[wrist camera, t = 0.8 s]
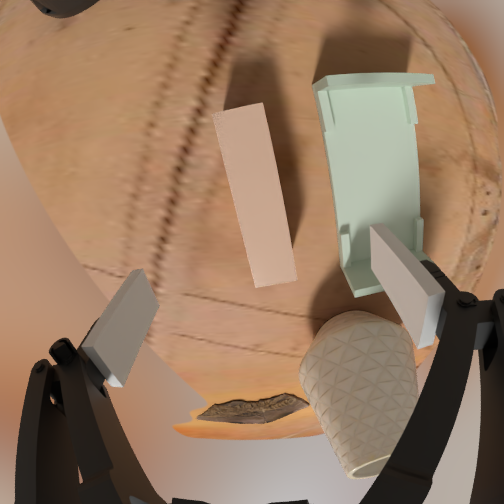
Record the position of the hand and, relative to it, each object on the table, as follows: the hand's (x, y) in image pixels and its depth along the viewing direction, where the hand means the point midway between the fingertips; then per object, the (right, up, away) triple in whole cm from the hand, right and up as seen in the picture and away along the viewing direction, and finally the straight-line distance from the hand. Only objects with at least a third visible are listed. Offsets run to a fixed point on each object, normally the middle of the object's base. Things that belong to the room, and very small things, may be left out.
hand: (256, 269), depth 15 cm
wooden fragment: (-1, -33, +38) cm, 50 cm away
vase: (+15, -12, +27) cm, 33 cm away
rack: (+15, +10, +15) cm, 23 cm away
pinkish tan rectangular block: (+1, +9, +17) cm, 19 cm away
